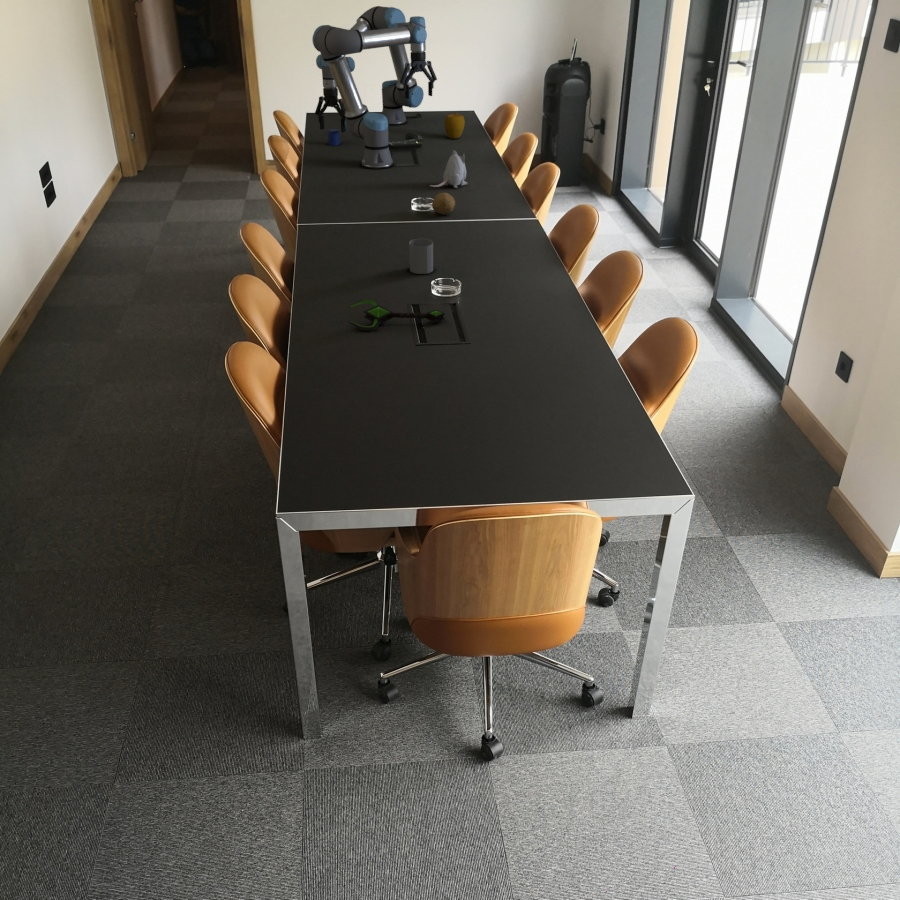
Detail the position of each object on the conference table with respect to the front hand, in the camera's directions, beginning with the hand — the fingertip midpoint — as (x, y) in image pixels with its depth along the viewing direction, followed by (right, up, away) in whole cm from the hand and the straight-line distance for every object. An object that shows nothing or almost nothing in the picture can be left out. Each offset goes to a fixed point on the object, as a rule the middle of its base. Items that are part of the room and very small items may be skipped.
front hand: (418, 97), depth 440 cm
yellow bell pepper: (+18, -8, +35) cm, 41 cm away
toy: (+15, -60, -46) cm, 77 cm away
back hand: (-46, -10, +20) cm, 51 cm away
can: (-46, -16, +24) cm, 54 cm away
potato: (+13, -80, -77) cm, 112 cm away
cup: (+6, -115, -132) cm, 175 cm away
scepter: (-1, -140, -170) cm, 220 cm away
